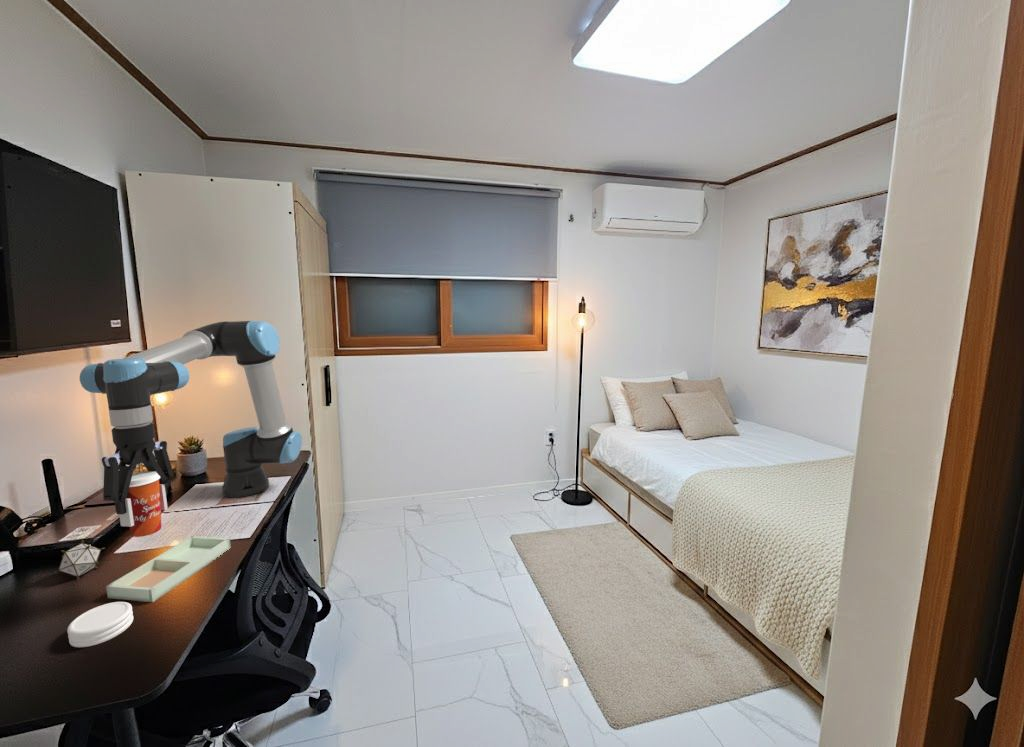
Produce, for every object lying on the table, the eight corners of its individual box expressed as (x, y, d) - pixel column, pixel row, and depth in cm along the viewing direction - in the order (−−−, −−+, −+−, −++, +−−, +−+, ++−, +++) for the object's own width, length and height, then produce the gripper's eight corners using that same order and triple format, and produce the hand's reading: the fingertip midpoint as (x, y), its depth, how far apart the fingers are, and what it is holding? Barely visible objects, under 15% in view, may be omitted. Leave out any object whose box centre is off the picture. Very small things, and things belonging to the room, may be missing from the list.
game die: (75, 592, 112) (36, 575, 105) (86, 565, 118) (49, 548, 112) (110, 571, 113) (73, 553, 107) (118, 545, 120) (84, 527, 113)
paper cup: (143, 540, 102) (135, 482, 100) (116, 537, 103) (108, 480, 101) (175, 524, 109) (168, 470, 107) (150, 522, 111) (142, 468, 109)
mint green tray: (193, 546, 126) (191, 536, 126) (230, 548, 124) (229, 538, 124) (107, 598, 103) (106, 586, 103) (152, 602, 101) (151, 590, 101)
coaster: (83, 622, 95) (81, 607, 95) (141, 610, 99) (139, 595, 98) (58, 655, 86) (55, 639, 86) (123, 639, 90) (120, 624, 89)
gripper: (159, 414, 113) (170, 498, 116) (69, 436, 93) (84, 537, 96) (185, 414, 112) (195, 499, 115) (99, 437, 92) (114, 539, 95)
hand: (145, 517), depth 106 cm, fingers closed on paper cup, 8 cm apart
